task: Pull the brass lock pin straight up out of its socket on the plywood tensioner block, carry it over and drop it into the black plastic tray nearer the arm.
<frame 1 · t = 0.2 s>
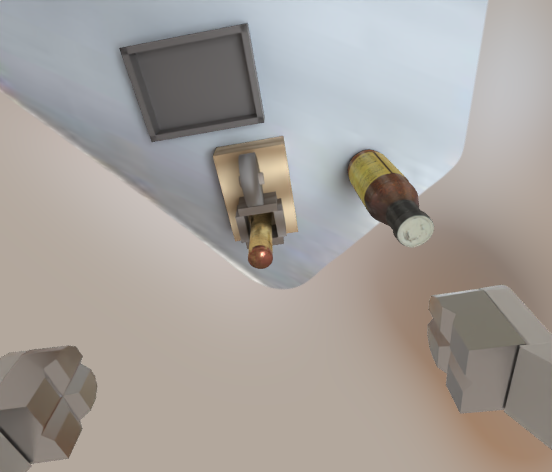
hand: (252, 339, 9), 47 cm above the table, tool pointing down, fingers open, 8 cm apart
tensioner block: (258, 185, 58), on the table
lock pin: (261, 214, 56), point 4 cm above the table, touching tensioner block
tray: (199, 82, 50), on the table
sauce bottle: (367, 167, 57), on the table
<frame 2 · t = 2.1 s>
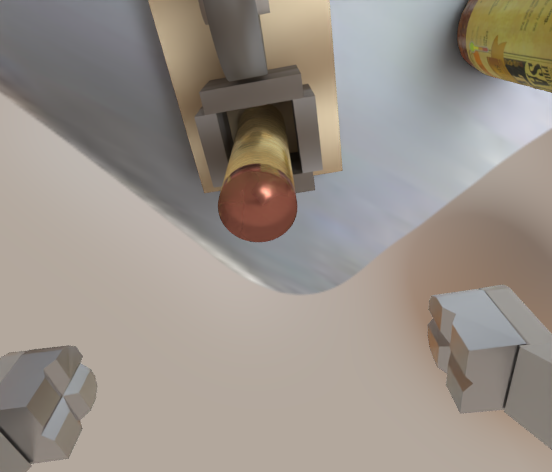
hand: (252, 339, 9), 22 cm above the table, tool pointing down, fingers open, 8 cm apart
tensioner block: (255, 69, 26), on the table
lock pin: (262, 126, 24), point 4 cm above the table, touching tensioner block
sauce bottle: (500, 23, 25), on the table
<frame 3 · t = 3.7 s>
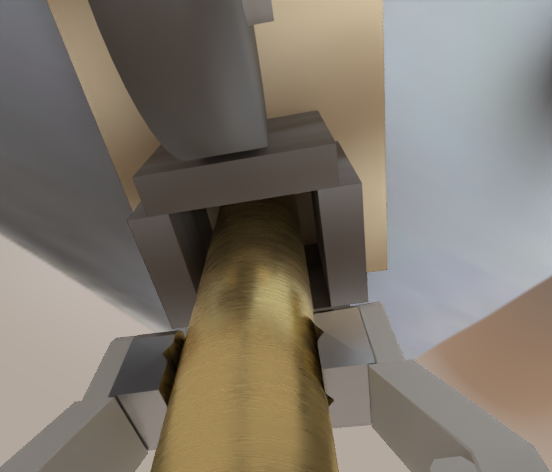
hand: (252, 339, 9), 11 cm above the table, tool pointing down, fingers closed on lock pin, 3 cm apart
tensioner block: (248, 108, 17), on the table
lock pin: (259, 206, 15), point 4 cm above the table, touching gripper, tensioner block
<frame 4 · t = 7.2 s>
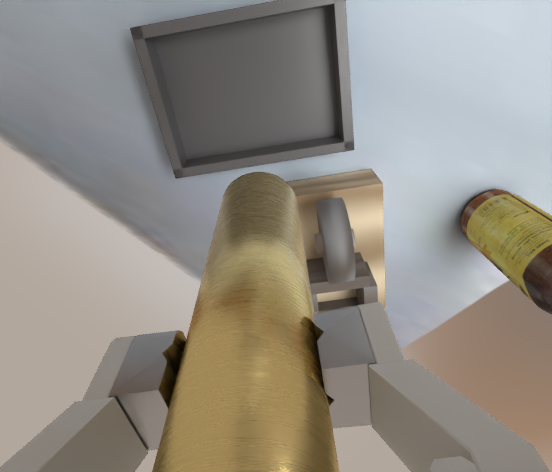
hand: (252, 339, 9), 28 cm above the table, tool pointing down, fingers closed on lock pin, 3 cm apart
tensioner block: (326, 238, 39), on the table
lock pin: (259, 207, 15), point 21 cm above the table, touching gripper
tray: (252, 88, 32), on the table
sauce bottle: (488, 213, 38), on the table
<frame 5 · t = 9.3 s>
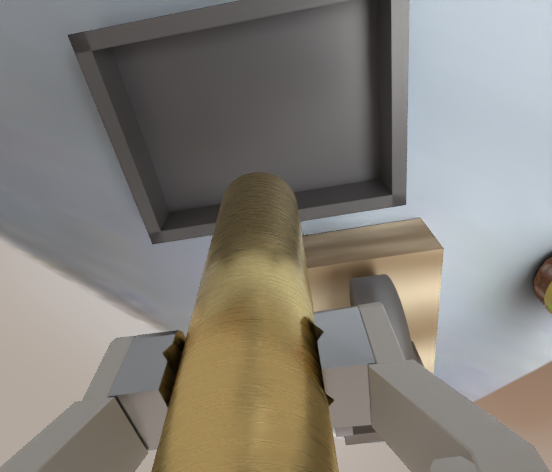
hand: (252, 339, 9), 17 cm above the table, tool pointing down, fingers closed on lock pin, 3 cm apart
tensioner block: (356, 301, 30), on the table
lock pin: (259, 207, 15), point 10 cm above the table, touching gripper
tray: (259, 114, 22), on the table
when the fingers open (10 cm above the table, at t = 10.7 s): lock pin drops 2 cm, resting on tray.
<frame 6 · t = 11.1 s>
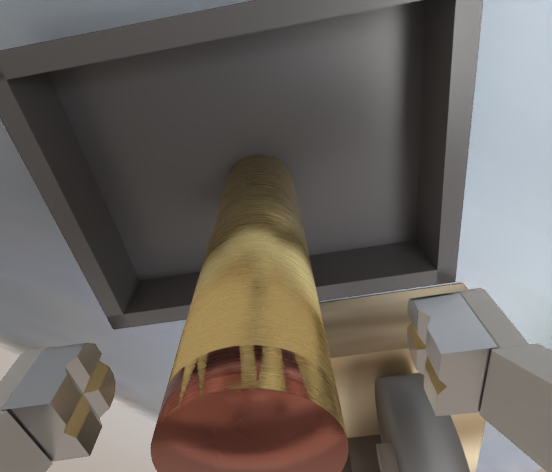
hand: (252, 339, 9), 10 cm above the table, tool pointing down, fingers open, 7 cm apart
tensioner block: (376, 376, 24), on the table
lock pin: (260, 187, 16), point 1 cm above the table, touching tray
tray: (256, 158, 17), on the table
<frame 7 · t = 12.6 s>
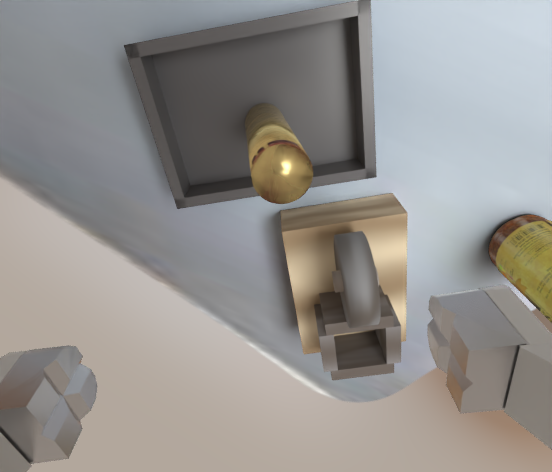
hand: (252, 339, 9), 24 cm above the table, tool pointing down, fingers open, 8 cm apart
tensioner block: (341, 266, 36), on the table
lock pin: (264, 123, 28), point 1 cm above the table, touching tray
tray: (262, 107, 29), on the table
sauce bottle: (518, 239, 35), on the table
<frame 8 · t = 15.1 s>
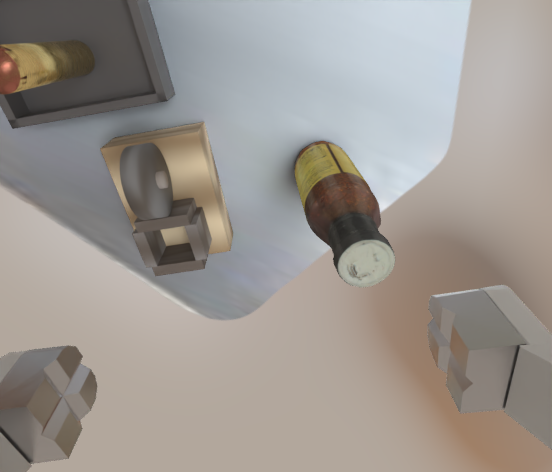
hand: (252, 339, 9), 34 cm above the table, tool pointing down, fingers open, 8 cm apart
tensioner block: (178, 189, 43), on the table
lock pin: (78, 57, 35), point 1 cm above the table, touching tray
tray: (78, 45, 36), on the table
sauce bottle: (322, 165, 42), on the table
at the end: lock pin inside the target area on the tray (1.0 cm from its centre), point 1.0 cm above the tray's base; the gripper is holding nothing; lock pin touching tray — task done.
